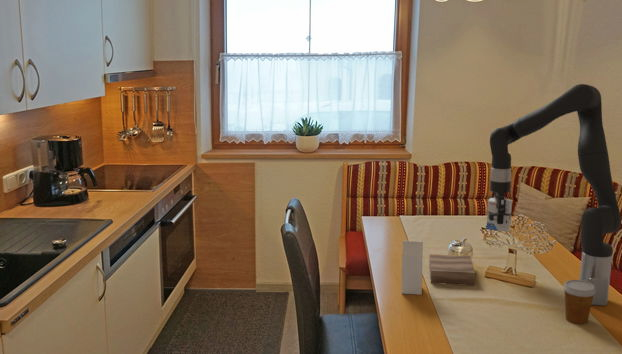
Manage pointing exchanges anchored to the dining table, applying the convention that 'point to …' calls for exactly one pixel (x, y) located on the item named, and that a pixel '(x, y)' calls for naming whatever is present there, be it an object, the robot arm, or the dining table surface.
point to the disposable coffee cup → (578, 300)
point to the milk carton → (412, 267)
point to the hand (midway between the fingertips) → (498, 221)
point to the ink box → (493, 216)
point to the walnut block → (451, 269)
